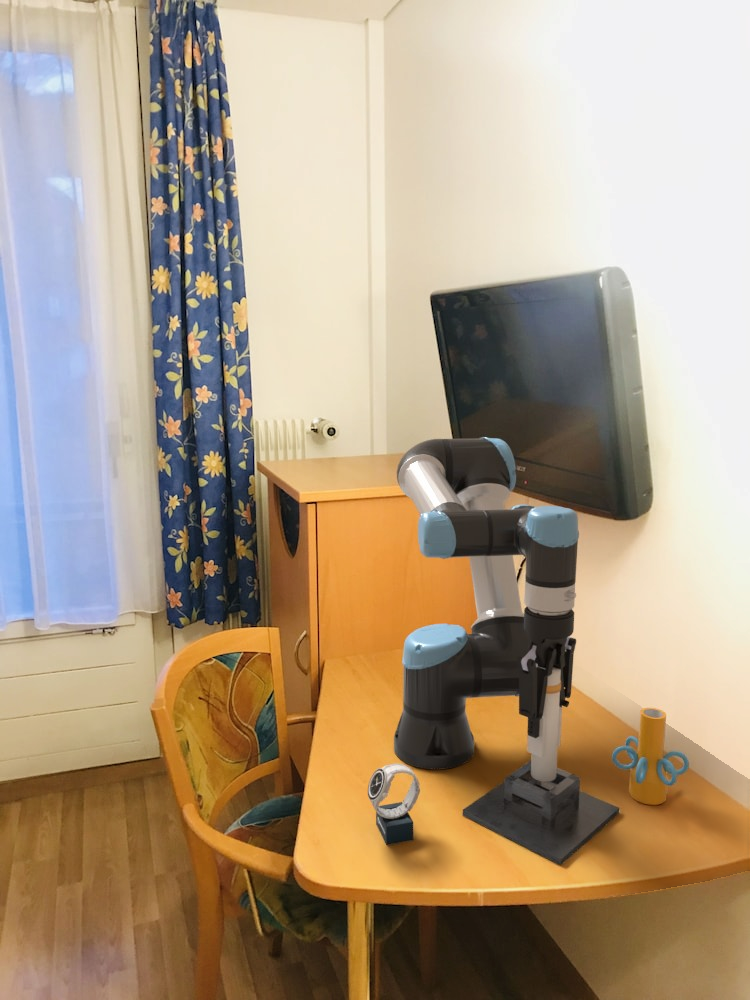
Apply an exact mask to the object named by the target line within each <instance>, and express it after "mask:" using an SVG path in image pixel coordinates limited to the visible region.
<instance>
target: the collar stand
mask: <svg viewBox="0 0 750 1000" xmlns="http://www.w3.org/2000/svg"><path fill="white" fill-rule="evenodd" d="M580 784H581V777H580V776H578V775H576V774H574V773H571V772H569V771H566V770H563V769H561V768H559V767H557V771H556V778H555V779H554V780H553V781H549V782H543V781H539V780H536V779H534V778H533V777H532V776H531V760H529V761H528V762H526V763H525V764H524V765H521V767H519V768H518V769H516V770H514V771H513V772H512V773H510V774H509V775H507V776H506V777H504V781H503V782H501V783H499V784H497V786H495V787H494V788H493V789H491V790H490V791H488V792H487V793H485V794H484V795H482V796H481V797H479V798H478V799H476V800H475V801H473V802H472V803H470V804H468V805H467V806H466V807H464V808H463V809H462V816H463V817H466V818H467V819H470V820H471V821H473V822H474V823H477V824H479V825H481V826H483V827H484V828H487V829H488V830H490V831H493V832H495V833H496V834H498V835H500V836H502V837H504V838H506V839H508V840H510V841H512V842H514V843H516V844H518V845H519V846H522V847H523V848H525V849H527V850H529V851H530V852H533V853H535V854H537V855H539V856H541V857H543V858H545V859H547V860H548V861H551V862H552V863H554V864H557V865H558V866H562V865H563V864H564V863H565V862H567V861H568V859H570V858H571V857H572V856H573V855H575V853H577V852H578V851H579V850H580V849H581V848H582V847H583V846H585V844H587V843H588V842H589V841H590V840H591V839H592V838H594V837H595V835H597V834H598V833H599V832H600V831H601V830H602V829H603V828H605V827H606V826H607V825H608V824H609V823H610V822H611V821H612V820H614V819H615V818H616V817H617V816H618V815H619V814H620V807H618V806H616V805H614V804H612V803H609V802H607V801H605V800H602V799H601V798H597V797H596V796H593V795H591V794H589V793H586V792H584V791H582V790H581V789H580V788H581V787H580V786H581V785H580ZM615 816H616V817H615ZM606 824H607V825H606ZM605 825H606V826H605Z"/></svg>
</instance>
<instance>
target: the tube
mask: <svg viewBox="0 0 750 1000" xmlns="http://www.w3.org/2000/svg"><path fill="white" fill-rule="evenodd" d="M540 668H541V667H540ZM543 669H544V668H543ZM560 676H561V669H558V668H555V667H553V669H552V674H551V675H550V676H548V683H547V690H546V697H545V704H544V711H543V716H544V717H546V732H545V756H544V757H539V756H537V755H534V754H532V753H530V755H531V756H530V757H531V758H530V761H531V776H532V777H533V778H534V779H536V780H539V781H543V782H549V781H553V780H554V779H555V778H556V771H557V768H558V766H557V765H558V764H557V763H558V747H559V746H558V723H559V699H560V690H561V680H560Z"/></svg>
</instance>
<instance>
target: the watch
mask: <svg viewBox="0 0 750 1000" xmlns="http://www.w3.org/2000/svg"><path fill="white" fill-rule="evenodd" d="M397 774H407V775H410V776H412V778H413V779H412V781H411V784H410V786H409V790H408V792H407V794H406V795H405V797H404V798H403V802H402V801H400V802H394V803H388V804H383V805H380V804H381V802H383V801H384V800H385V799H386V798H387V797H388V796H389V792H390V790H391V786H392V781H393V780H394V778H395V776H396V775H397ZM420 792H421V789H420V782H419V779H418V778H417V776H416V773H414V771H413V769H412V768H410V767H409V766H407V765H406V764H402V763H390V764H386V765H384V766H383V767H380V768H377V769H376V770H374V772H373V773H372V775H371V777H370V779H369V782H368V786H367V797H368V799H369V801H370V803H371V805H372V807H373V809H374V811H375V825H376V827H377V829H378V831H379V833H380V835H381V837H382V839H383V841H384V843H385V845H386V846H390V845H396V844H401V843H405V842H408V841H409V842H410V841H414V821H413V818H412V817H411V815H410V813H409V812H411V810H412V809H413V808H414V806H415V804H416V803H417V800H418V798H419V795H420Z"/></svg>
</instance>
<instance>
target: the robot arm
mask: <svg viewBox="0 0 750 1000" xmlns="http://www.w3.org/2000/svg"><path fill="white" fill-rule="evenodd" d="M515 461H516V460H515V458H514V454H513V452H512V449H511V447H510V445H508V443H507V442H506V441H504V440H503V439H501V438H496V437H495V438H493V437H492V438H491V437H486V436H482V437H479V438H477V437H475V438H433V439H427V440H425V441H422V442H419V443H417V444H415V445H414V446H412V447H411V448H409V450H407V451H406V452H405V453H404V454H403V456H402V457H401V458H400V460H399V463H398V464H397V470H396V480H397V483H398V486H399V488H400V489H401V491H402V493H403V494H404V495H405V496H406V497H408V498H410V499H411V501H412V502H413V504H414V506H415V508H416V510H417V512H418V514H419V517H418V523H417V539H418V540H417V541H418V545H419V551H420V553H421V555H422V556H424V557H426V558H435V559H436V558H437V559H438V558H439V559H443V560H446V559H449V558H450V559H454V558H469V565H470V571H471V572H470V573H471V578H472V580H471V581H472V585H473V592H474V593H473V594H474V601H475V608H476V609H475V610H476V615H477V619H475V621H474V622H473V624H472V625H471V627H470V630H471V633H468V632H467V630H466V629H465V628H464V627H463V626H461V625H458V624H449V623H434V624H430V625H425V626H422V627H419V628H417V629H415V630H413V631H412V632H411V633H410V634H408V635H407V636H406V638H405V641H404V643H403V653H402V659H401V662H402V665H403V666H402V667H403V669H402V670H403V677H402V678H403V682H402V683H403V684H402V685H403V687H402V690H403V692H402V693H403V695H402V697H403V698H402V699H403V700H402V701H403V702H402V703H403V705H402V706H403V707H402V712H401V716H400V717H399V721H398V723H397V727H396V730H395V732H394V735H393V752H394V753H395V755H396V756H397V757H398V758H399V760H401V761H402V762H404V763H406V764H408V765H410V766H413V767H416V768H421V769H426V770H446V769H451V768H452V769H453V768H456V767H460V766H461V765H464V764H466V763H467V762H469V761H470V760H471V759H472V758H473V756H474V754H475V737H474V734H473V732H472V731H471V727H470V724H469V720H468V717H467V716H468V715H467V711H466V701H467V699H472V698H475V699H476V698H477V699H478V698H492V697H495V698H496V697H509V696H510V697H511V696H513V697H518V714H519V715H521V716H524V717H526V718H527V744H526V747H527V750H526V751H527V753H530V754H531V753H532V754H534V755H537V756H539V757H544V756H545V732H546V717H544V716H543V711H544V704H545V697H546V690H547V683H548V676H550V675H551V674H552V669H553V667H555V668H558V669H561V676H560V680H561V690H560V699H559V723H558V747H560V746H561V742H562V741H561V737H562V715H563V707H565V708H568V707H569V705H570V701H569V700H566V698H567V699H570V697H571V695H572V684H573V670H574V669H573V668H574V653H575V649H576V645H577V639H576V638H574V637H571V636H572V635H573V634H574V626H575V611H574V610H573V609H574V608H575V601H576V600H575V598H576V597H577V593H576V582H577V581H576V578H577V577H576V576H577V560H578V557H577V556H578V543H579V536H580V532H579V517H578V514H577V512H576V511H575V510H574V509H572V508H568V507H563V506H558V505H540V506H539V505H538V506H533V505H529V504H523V503H522V504H517V505H514V506H512V507H510V508H507V509H506V507H505V503H506V502H507V501H508V500H509V498H510V495H511V492H512V491H513V490H514V489H515V487H516V482H517V474H516V462H515ZM514 556H524V557H525V581H524V582H525V583H524V598H523V599H524V600H523V603H524V605H525V606H526V607H525V608H524V611H523V608H522V603H521V596H520V591H519V585H518V579H517V578H518V577H517V574H516V573H517V572H516V568H515V560H514ZM540 667H541V668H540ZM543 668H544V669H543Z"/></svg>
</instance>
